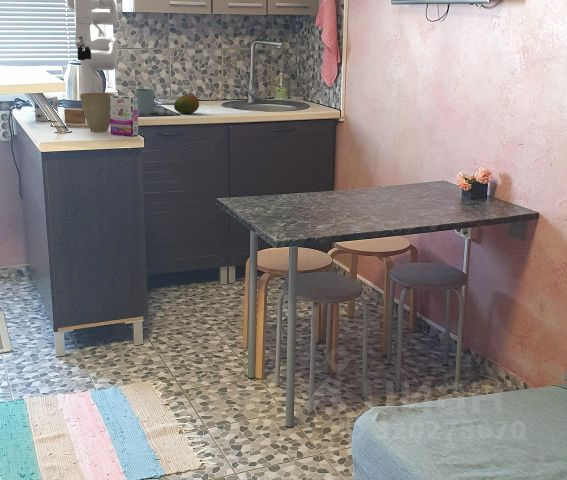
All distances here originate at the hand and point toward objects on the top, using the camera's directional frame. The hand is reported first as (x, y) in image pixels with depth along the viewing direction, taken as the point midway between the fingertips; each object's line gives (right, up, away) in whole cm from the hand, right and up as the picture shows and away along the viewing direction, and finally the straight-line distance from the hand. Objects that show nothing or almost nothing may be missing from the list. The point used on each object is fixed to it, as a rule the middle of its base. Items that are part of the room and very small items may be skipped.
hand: (84, 59), depth 374 cm
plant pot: (+12, -37, -24) cm, 45 cm away
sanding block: (-2, -31, -9) cm, 32 cm away
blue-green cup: (+20, -18, +45) cm, 53 cm away
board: (-2, -32, -9) cm, 33 cm away
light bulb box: (-19, -27, +6) cm, 34 cm away
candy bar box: (+25, -39, -32) cm, 57 cm away
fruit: (+42, -18, +48) cm, 66 cm away
